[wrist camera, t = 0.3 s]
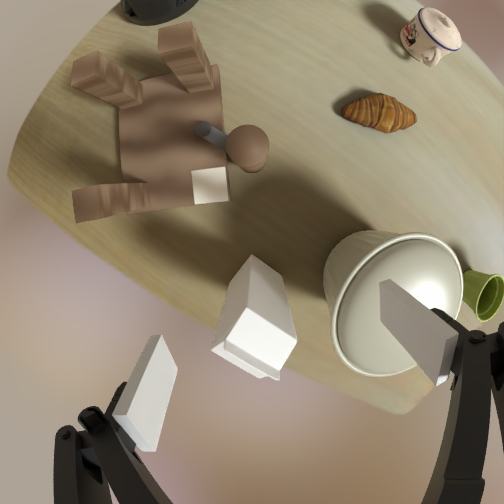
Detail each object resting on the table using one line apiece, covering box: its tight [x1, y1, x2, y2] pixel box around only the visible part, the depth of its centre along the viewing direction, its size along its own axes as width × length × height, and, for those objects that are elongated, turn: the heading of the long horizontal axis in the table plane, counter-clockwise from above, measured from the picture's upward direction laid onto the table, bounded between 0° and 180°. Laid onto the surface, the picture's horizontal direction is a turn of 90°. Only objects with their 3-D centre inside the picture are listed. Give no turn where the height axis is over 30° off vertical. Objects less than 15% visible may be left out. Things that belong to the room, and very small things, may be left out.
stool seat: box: [71, 21, 231, 223], centre depth 30 cm, size 21×16×16 cm
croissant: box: [342, 93, 417, 133], centre depth 34 cm, size 14×7×5 cm, turn 95°
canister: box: [323, 230, 463, 377], centre depth 32 cm, size 18×18×21 cm
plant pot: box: [462, 270, 504, 322], centre depth 38 cm, size 9×9×9 cm
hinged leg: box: [195, 121, 269, 173], centre depth 28 cm, size 11×4×15 cm, turn 55°
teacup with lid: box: [400, 7, 461, 67], centre depth 26 cm, size 12×9×12 cm
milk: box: [211, 254, 297, 381], centre depth 32 cm, size 6×6×22 cm
